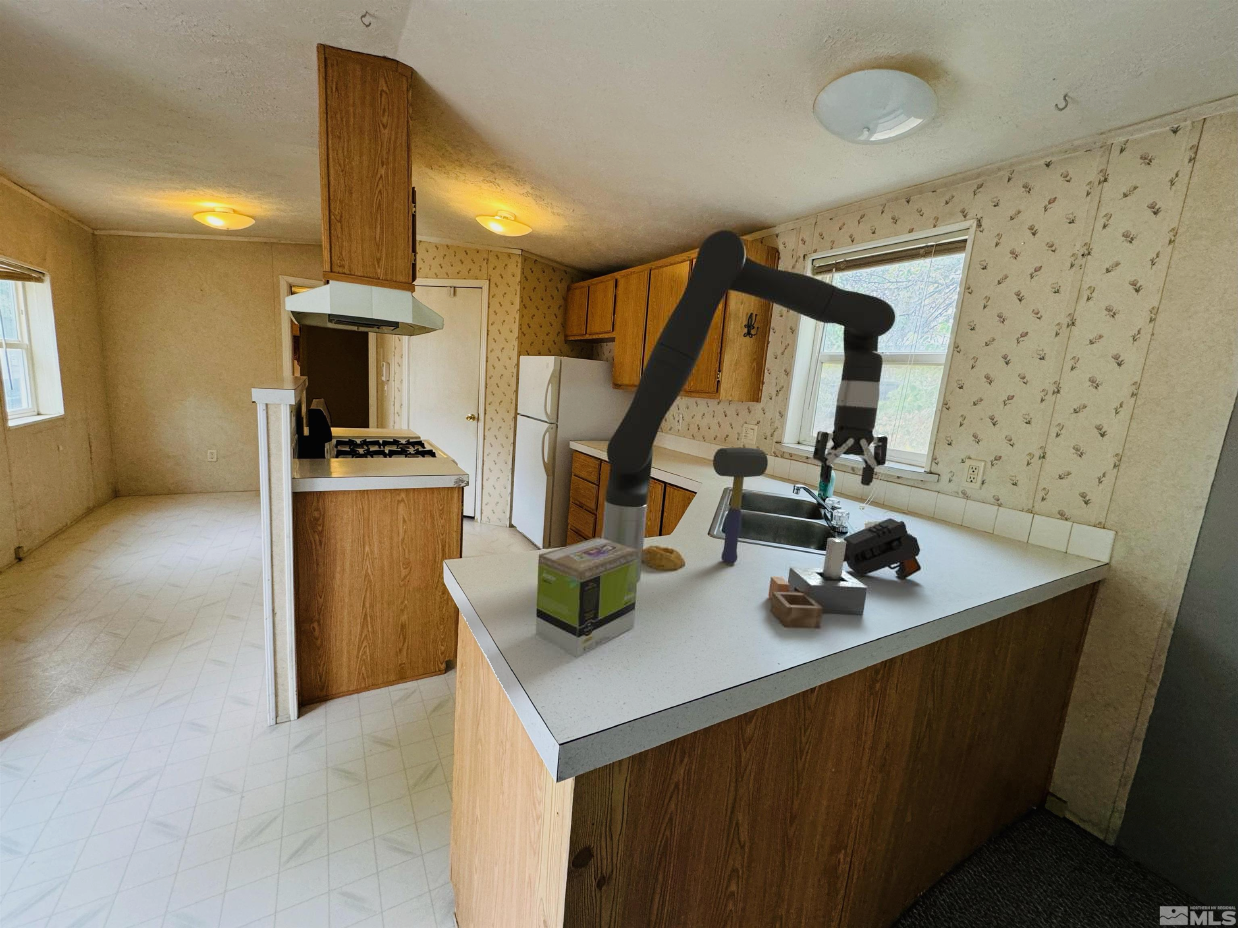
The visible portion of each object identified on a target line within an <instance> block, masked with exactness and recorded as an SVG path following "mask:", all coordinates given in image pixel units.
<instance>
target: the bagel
mask: <svg viewBox="0 0 1238 928" xmlns="http://www.w3.org/2000/svg"><path fill="white" fill-rule="evenodd" d="M642 562H643V564H644V565H645V566H647V567H649V568H653V569H655V570H658V571H676V570H679V569H682V568H685V567H686V561H685V559H684V557H683V556H682V554H681V553H680V552H679V551H678V550H676V549H675V548H669V547H668V546H667V547H666V546H665V547H663V546H661V545H650V546H647V547H645V548H643V556H642Z"/></svg>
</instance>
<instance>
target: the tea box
mask: <svg viewBox="0 0 1238 928" xmlns="http://www.w3.org/2000/svg"><path fill="white" fill-rule="evenodd" d="M638 553H639V550H637V549H634V548H630V547H627V546H624V545H620V544H617V543H614V542H611V541H608V540H604V539H601V538H600V536H598V537H594V538H593V537H592V538H590V539H587V540H583V541H579V542H577V543H573V544H570V545H566V546H563V547H560V548H557V549H553V550H550V551H547V552H544V553H543V552H542V553H539V554H538V563H537V564H538V566H537V567H538V569H537V585H536V586H537V587H536V588H537V591H536V592H537V593H536V613H535V615H536V616H535V617H536V618H535V636H537V637H539V638H541V639H543V640H544V641H547V642H548V643H550V644H551V645H553V646H555V647H557V648H558V649H560V650H563V651H564V652H565V653H567V654H570V655H571V656H573V657H574V658H579V657H580V656H582V655H584V654H586V653H588V652H589V651H591V650H593V649H595V648H597V647H599V646H601V645H603V644H605V643H606V642H608V641H610V640H612V639H614V638H616V637H618V636H620V635H621V634H624V633H625V632H627V631H629V630H630V629H632V628H634V627H635V617H636V600H637V584H638V582H637V571H638Z"/></svg>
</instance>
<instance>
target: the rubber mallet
mask: <svg viewBox="0 0 1238 928" xmlns="http://www.w3.org/2000/svg"><path fill="white" fill-rule="evenodd" d="M712 466H713V470H714V471H715V473H716V474H717V475H718V476H720V477H729V478H733V481H732V489H731V497H730V504H729V505H730V506H729V508H728V509H727V513H726V517H725V518H726V519H725V526H724V529H725V530H724V531H725V533H724V535H725V536H724V543H723V551H722V553H721V557H720V558H721V561H722V562H724V564H725V563H726V564H725V565H730V566H734V565H735V564H734V563H736V562H737V561H738V541H739V535H740V532H741V525H742V509H741V507H742V497H743V496H742V495H743V489H744V488H743V487H744V478H755V477H761V476H763V475H764V474H765V473H766V471H767V469H768V466H769V460H768V456H767V454H766V452H765V451H764V450H763V449H760V448H754V447H753V448H752V447H745V446H743V447H741V446H740V447H721V448H719V449H717V450H716V451H715V453H714V454H713V459H712ZM733 564H734V565H733Z"/></svg>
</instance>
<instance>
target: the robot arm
mask: <svg viewBox="0 0 1238 928" xmlns="http://www.w3.org/2000/svg"><path fill="white" fill-rule="evenodd" d="M728 291H732V292H736V293H741V294H745V295H749V296H752V297H755V298H758V299H762V300H764V301H767V302H769V303H773V304H775V305H777V306H780V307H783V308H785V309H787V310H791V311H792V312H794V313H797V314H799V315H802V316H805V317H807V318H809V319H811V320H813V321H817V322H819V323H824V324H837V325H839V326H842V327H843V333H842V334H843V336H842V337H843V356H844V359H843V366H842V372H841V378H840V380H841V381H840V385H839V388H838V391H837V397H836V407H835V412H834V413H835V415H834V420H833V431H832V432H827V431H823V430H819V431H817V433H816V439H815V444H814V449H813V453H812V454H813V455H812V459H813V460H815V461H817V462H819V463H820V473H819V478H820V480H821V482H822V483H824V484H830V483H831V477H832V471H833V465H832V464H833V463H834V462H835V461H836V460H837V459H838V458H840V457H841V456H842V455H846V456H849V455H850V456H851V455H853V456H857V457H859V458H860V459H861V461H862V462H863V464H864V466H863V467H862V473H861V479H860V484H861V485H863V486H867V487H869V486H871V484H872V483H873V481H874V476H875V475H874V474H875V469H876V468H877V467H879V466H885V465H886V462H887V452H888V440H889V437H888V436H887V435H886V436H885V435H881V434H877V435H874V429H875V427H876V420H877V415H878V414H877V413H878V407H879V401H880V400H879V399H880V383H881V377H882V372H883V370H882V369H883V356H882V354H881V353H879V351H878V350H879V348H878V347H879V337H881V336H883V335H885V334H887V333H888V332H889V331H890V330H891V329H892V327H893V326H894V324H895V321H896V313H895V310H894V307H892V305H891V304H890V303H889V302H887V301H886V300H884V299H881V298H880V297H877V296H874V295H870V294H867V293H861V292H857V291H852V290H846V289H843V288H840V287H839V286H836V285H834V284H832V283H829V282H827V281H823V280H821V279H819V278H816V277H813V276H810V275H807V274H803V273H798V272H793V271H787V270H782V269H779V268H774V267H770V266H768V265H765V264H762V263H759V262H757V261H755V260H753V259H751V258H749V257H748V256H746V248H745V244H744V242H743V240H742V238H741V237H740V236H739V234H737V233H736V232H734V231H732V230H726V229H724V230H723V229H722V230H718V231H715V232H713V233H712V234H710V235H709V236H708V237H706V238H705V239H704V240H703V242H702V243H701V244H700V246H699V248H698V250H697V254H696V258H695V262H694V264H693V267H692V270H691V273H690V275H689V279H688V281H687V283H686V287H684V291H683V293H682V295H681V297H680V299H679V300H678V302H677V305H676V306H675V307H674V309H673V311H672V313H671V314H670V316H669V318H668V320H667V321H666V322H665V325H664V326H663V328H662V330H661V332H660V334H659V336H658V338H657V340H656V343H655V344H654V347H653V348H652V350H651V353H650V355H649V357H648V360H647V362H646V363H645V364H646V365H645V367H644V369H643V372H642V374H641V376H640V379H639V381H638V384H637V388H636V390H635V393H634V396H633V399H632V402H631V403H630V406H629V407H628V410H627V411H626V412H625V415H624V416H623V418H622V420H621V422H620V423H619V425H618V427H617V429H616V431H614V433H613V435H612V436H611V438H610V440H609V441H608V444H607V447H606V457H607V461H608V463H609V475H608V480H607V485H606V489H605V498H604V499H605V500H604V513H603V522H602V523H603V524H602V525H603V526H602V530H601V539H604V540H608V541H611V542H614V543H617V544H620V545H624V546H627V547H630V548H634V549H637V550H639V553H638V571H637V583H638V582H640V580H641V576H642V568H643V567H642V566H643V565H642V563H643V560H642V556H643V549H644V546H645V545H644V543H645V542H644V541H645V533H646V532H645V531H646V521H647V520H646V519H647V509H648V500H649V499H648V498H649V491H650V487H651V474H652V465H653V453H654V448H653V447H654V443H655V440H656V437H657V435H658V432H659V430H660V427H661V425H662V423H663V420H664V419H665V418H666V415H667V414H668V413H669V410H670V409H671V408H672V406H673V404H674V403H675V402H676V401H677V398H678V397H679V396H680V395H681V392H683V389H684V388H685V386H686V384H687V382H688V381H689V379H690V377H691V375H692V374H693V371H694V369H695V366H696V364H697V362H698V361H699V358H700V356H701V354H702V351H703V349H704V345H705V343H706V342H707V341H706V340H707V338H708V335H709V332H710V329H711V326H712V323H713V320H714V317H715V315H716V313H717V310H718V309H719V306H720V305H721V302H722V301H723V299H724V298H725V295H726V294H727V292H728ZM830 441H832V445H831V446H830V447H829V448H828V443H830ZM871 445H873V447H874V448H873V452H872V450H871V448H870V447H871ZM827 448H828V449H827Z"/></svg>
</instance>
